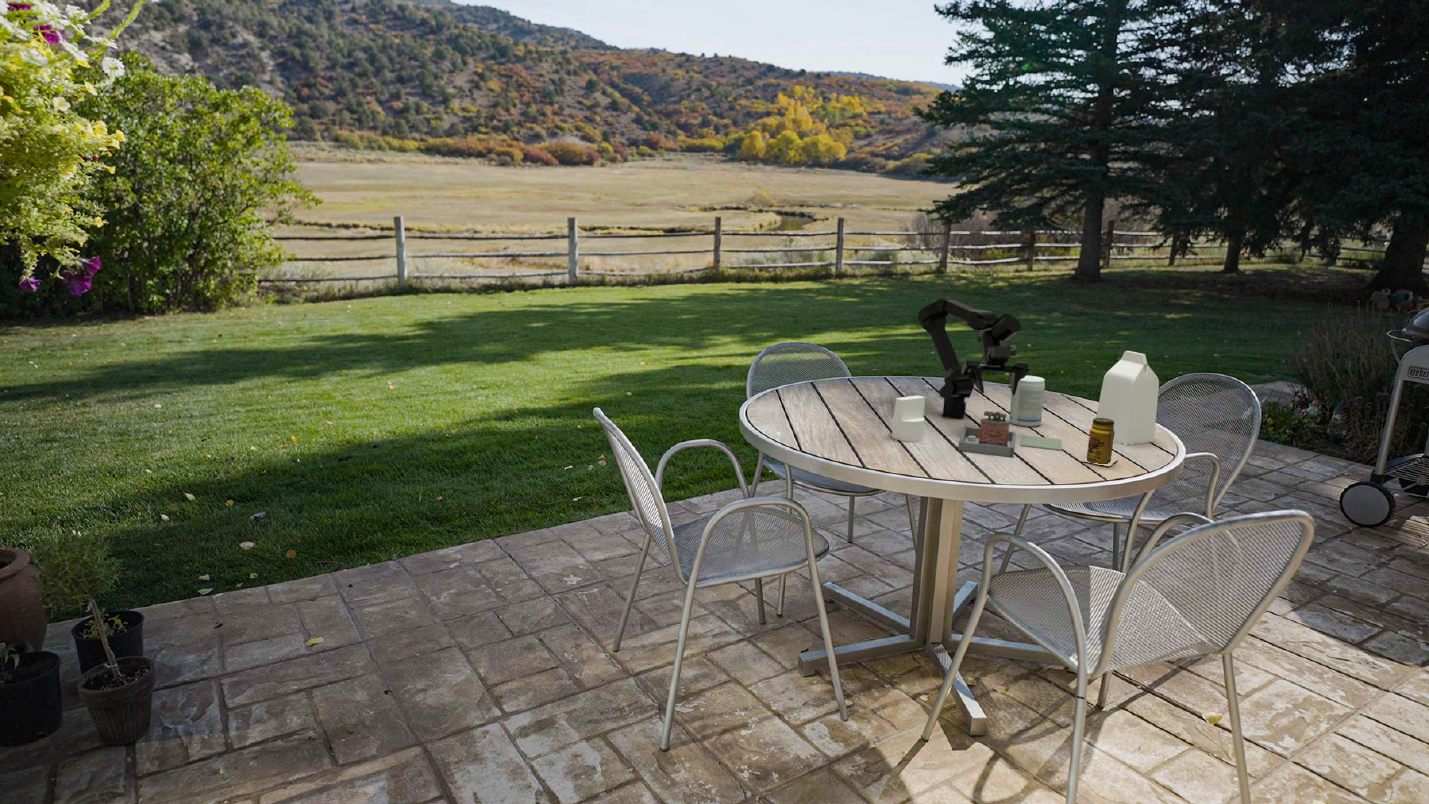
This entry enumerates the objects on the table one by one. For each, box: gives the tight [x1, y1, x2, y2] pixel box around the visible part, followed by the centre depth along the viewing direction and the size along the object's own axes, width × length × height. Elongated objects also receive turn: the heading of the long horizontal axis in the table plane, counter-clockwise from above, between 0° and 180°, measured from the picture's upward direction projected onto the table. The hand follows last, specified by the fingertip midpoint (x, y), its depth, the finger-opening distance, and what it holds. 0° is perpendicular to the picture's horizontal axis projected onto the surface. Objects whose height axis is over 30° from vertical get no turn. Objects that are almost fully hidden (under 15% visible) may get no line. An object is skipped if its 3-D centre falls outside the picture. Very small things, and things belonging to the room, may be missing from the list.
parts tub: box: [957, 426, 1017, 458], centre depth 242 cm, size 15×18×2 cm
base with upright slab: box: [891, 395, 926, 443], centre depth 247 cm, size 9×9×12 cm
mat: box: [1020, 434, 1063, 452], centre depth 245 cm, size 11×11×1 cm
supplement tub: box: [1008, 375, 1046, 428], centre depth 265 cm, size 10×10×15 cm
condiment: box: [1086, 417, 1115, 464], centre depth 228 cm, size 7×8×12 cm
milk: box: [1095, 350, 1160, 445], centre depth 250 cm, size 12×12×26 cm
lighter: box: [977, 410, 1011, 447], centre depth 241 cm, size 8×3×10 cm, turn 71°
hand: (998, 394), depth 247 cm, fingers open, 9 cm apart
